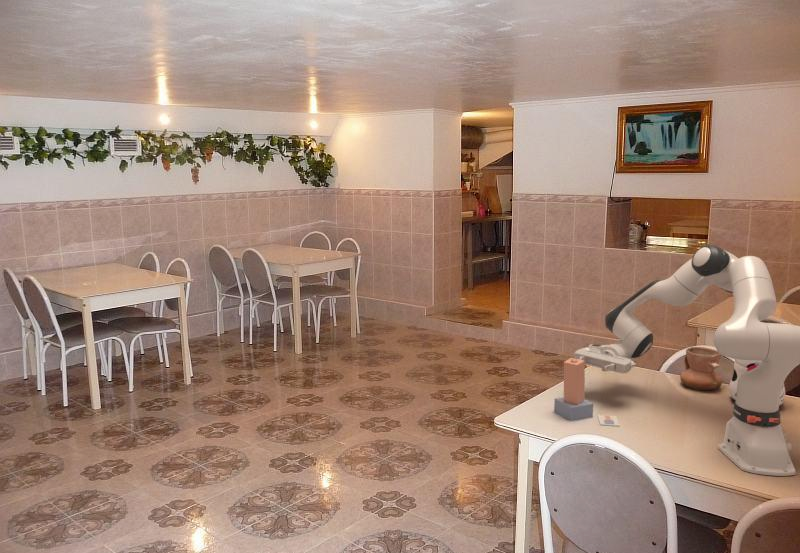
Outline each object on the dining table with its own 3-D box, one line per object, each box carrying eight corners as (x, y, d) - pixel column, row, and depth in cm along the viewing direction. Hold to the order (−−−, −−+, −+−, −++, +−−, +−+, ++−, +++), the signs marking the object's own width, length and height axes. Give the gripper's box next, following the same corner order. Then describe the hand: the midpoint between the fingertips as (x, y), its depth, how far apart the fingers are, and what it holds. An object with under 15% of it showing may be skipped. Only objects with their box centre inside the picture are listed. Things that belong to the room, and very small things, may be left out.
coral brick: (584, 399, 221) (584, 359, 218) (577, 404, 217) (577, 363, 214) (571, 396, 224) (570, 356, 221) (563, 401, 221) (563, 360, 217)
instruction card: (619, 426, 211) (619, 425, 211) (600, 425, 213) (600, 423, 212) (616, 416, 219) (616, 415, 219) (597, 415, 220) (597, 414, 220)
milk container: (771, 416, 219) (776, 365, 216) (719, 401, 232) (723, 353, 229) (791, 404, 230) (797, 354, 227) (741, 390, 243) (745, 344, 240)
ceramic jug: (732, 393, 241) (735, 355, 239) (697, 395, 238) (700, 357, 236) (701, 378, 258) (704, 343, 256) (668, 380, 256) (671, 344, 254)
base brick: (592, 417, 219) (593, 403, 218) (570, 422, 216) (571, 407, 215) (575, 408, 227) (576, 394, 227) (554, 412, 224) (554, 398, 223)
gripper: (638, 372, 229) (618, 381, 220) (585, 359, 244) (565, 367, 234) (639, 355, 228) (619, 363, 219) (586, 343, 243) (566, 350, 233)
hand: (591, 365), depth 227 cm, fingers open, 8 cm apart
